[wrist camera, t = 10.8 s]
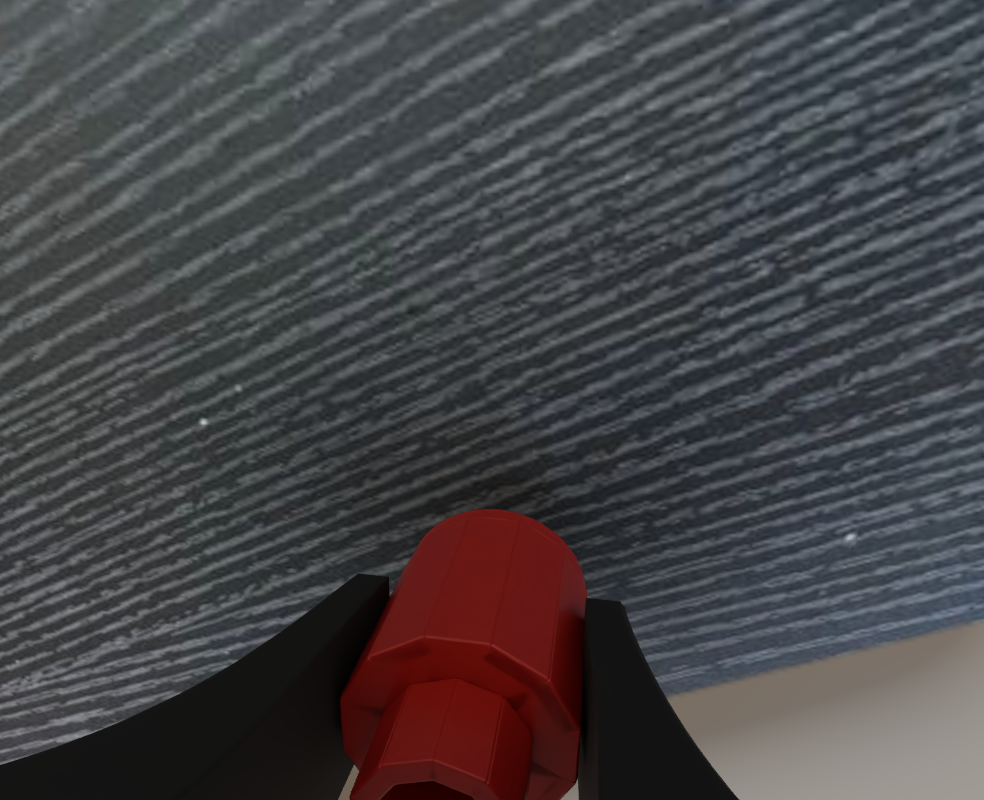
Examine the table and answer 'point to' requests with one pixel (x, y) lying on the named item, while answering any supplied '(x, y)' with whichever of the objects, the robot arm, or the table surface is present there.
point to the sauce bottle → (473, 669)
